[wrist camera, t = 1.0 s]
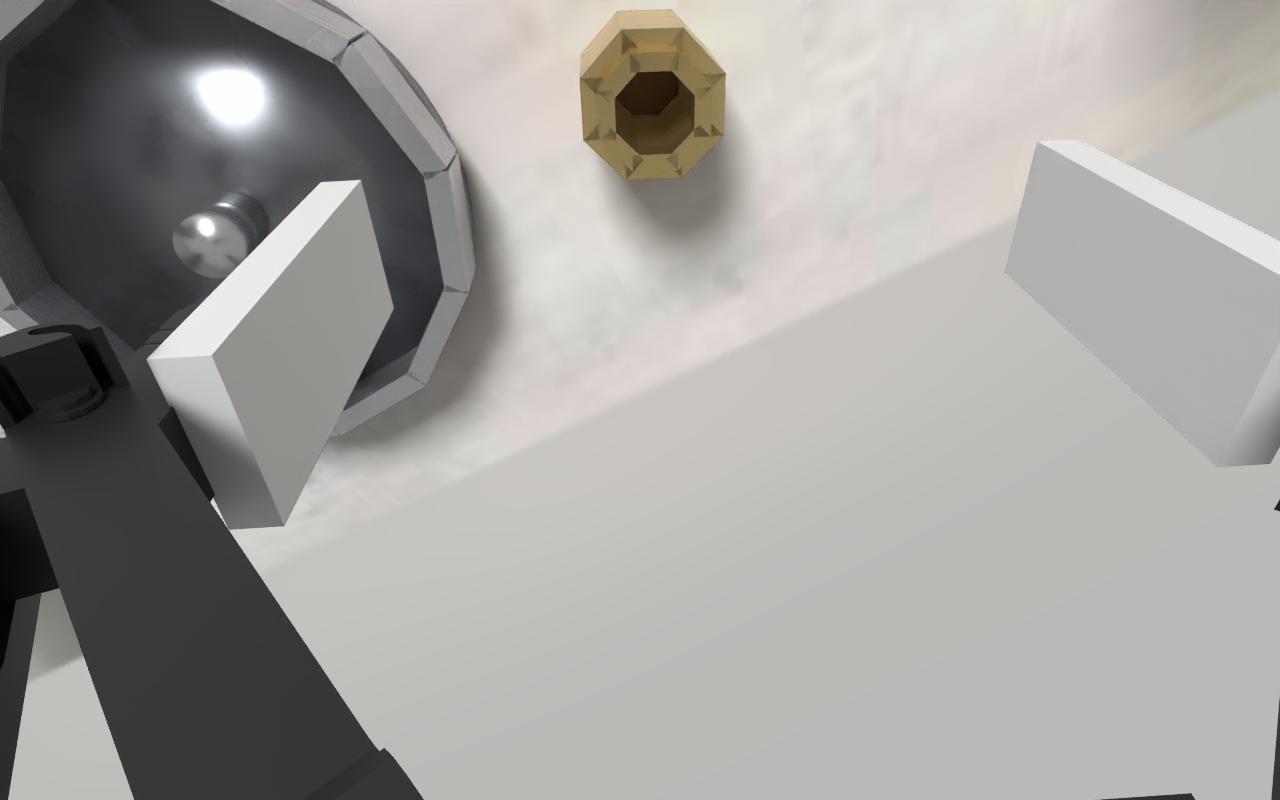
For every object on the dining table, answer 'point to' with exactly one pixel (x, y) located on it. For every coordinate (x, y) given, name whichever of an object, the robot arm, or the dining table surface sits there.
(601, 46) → the tan octagonal cup
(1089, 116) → the dining table surface
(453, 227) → the dark pot lid
